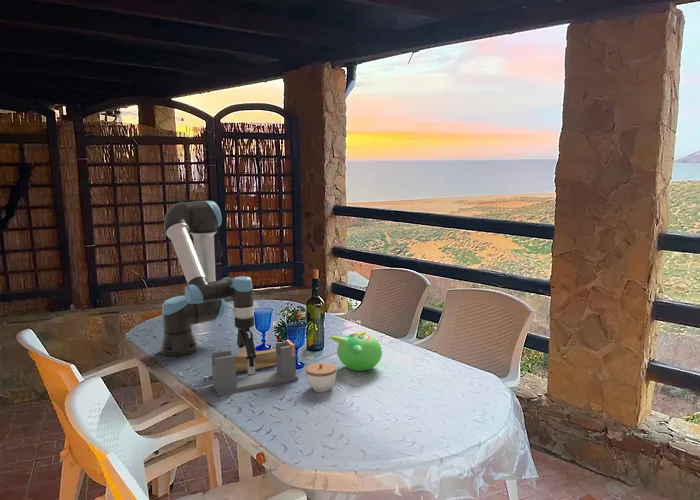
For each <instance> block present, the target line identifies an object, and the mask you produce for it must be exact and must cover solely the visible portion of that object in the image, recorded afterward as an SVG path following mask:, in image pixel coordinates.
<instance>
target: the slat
mask: <svg viewBox="0 0 700 500" xmlns="http://www.w3.org/2000/svg"><path fill="white" fill-rule="evenodd" d="M255 354H256V358H255V370H257V369H262V368H266V367H267V368H268V367H272V366H277V364H276V348H270V349H266V350H259V351H255ZM234 355H235V354H234ZM246 357H248V356H247V353H246V354H241V355H239V354H236V355H235V361H236V373H239V372H240V373H241V372H245V371H248V366H247V359H246Z"/></svg>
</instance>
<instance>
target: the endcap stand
mask: <svg viewBox="0 0 700 500" xmlns="http://www.w3.org/2000/svg"><path fill="white" fill-rule="evenodd" d="M295 345H296V344H295V343H294V344H293V343H292V342H291V341H290V340H289V339H287V340H286V341H283V342H275V350H276V364H277V365H276V370H275V371H269V372H262V373H257V374H256V373H255V374H252V375H245V376H240V377H237V372H236V361H235V354H232V349H228V350H223V351H214V352H211V353H210V355H211V368H212V387H213V389H214V391H215V392H216V394H217V396H223V395H226V394H227V395H228V394H232V393H237V392H238V393H239V392H243V391H248V390H253V389H260V388H263V387H270V386H275V385H280V384H284V383H291V382H295V381H298V380H299V376H298V375H297V368H296V367H297V365H296V363H297V362H296V346H295Z"/></svg>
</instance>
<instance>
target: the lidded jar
mask: <svg viewBox="0 0 700 500" xmlns="http://www.w3.org/2000/svg"><path fill="white" fill-rule="evenodd" d="M305 374H306V380H307V385H309V387H310V388H311V389H312V390H313V391H314V392H317V393H326V392H328V391H330V390H331V388H332V387H333V386H334V385H335V381H336V378H337V377H336V376H337V366H336V365H335V364H333V363H330V362H317V363H316V362H315V363H312V364H309V365H308V366H307V367H306V368H305Z"/></svg>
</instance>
